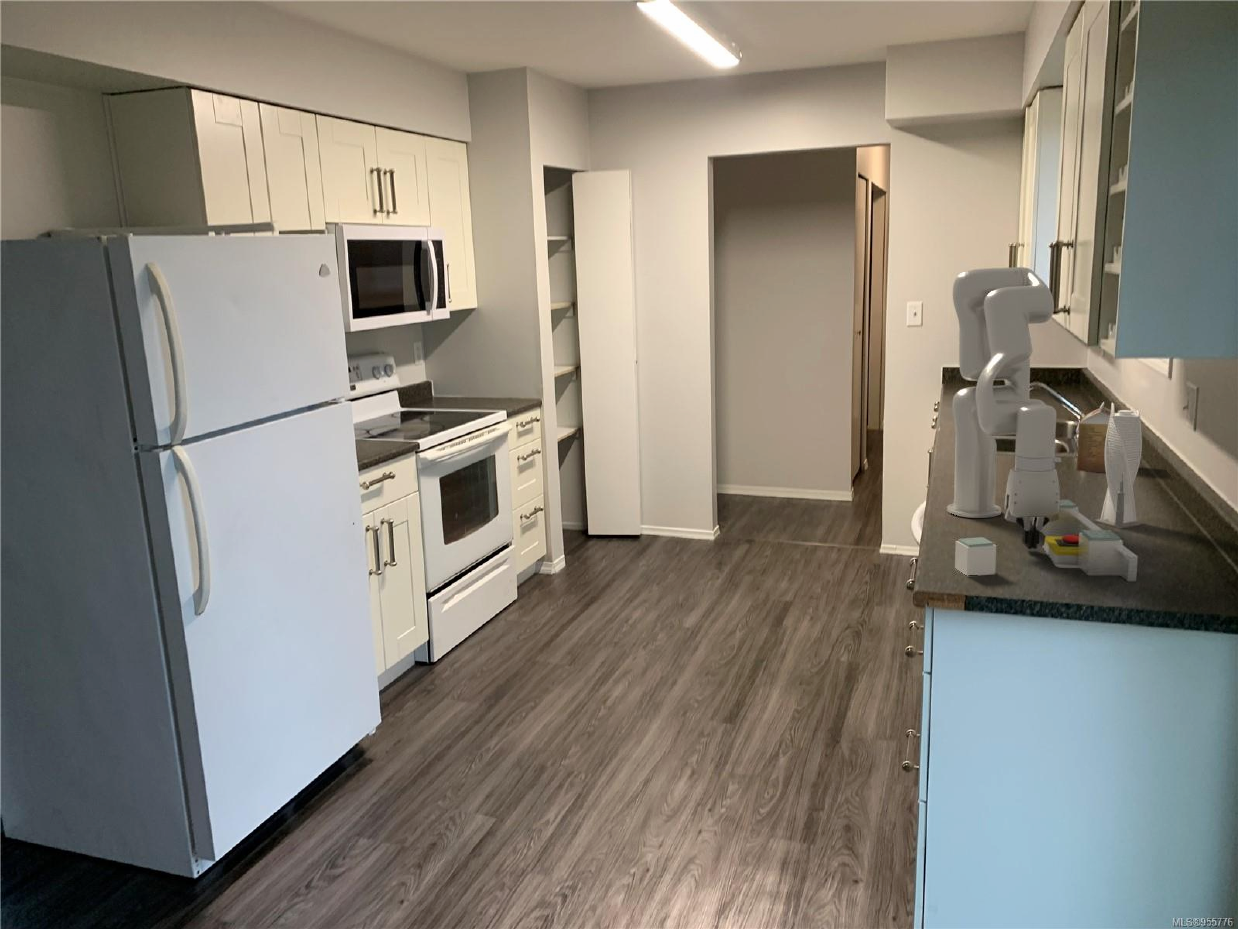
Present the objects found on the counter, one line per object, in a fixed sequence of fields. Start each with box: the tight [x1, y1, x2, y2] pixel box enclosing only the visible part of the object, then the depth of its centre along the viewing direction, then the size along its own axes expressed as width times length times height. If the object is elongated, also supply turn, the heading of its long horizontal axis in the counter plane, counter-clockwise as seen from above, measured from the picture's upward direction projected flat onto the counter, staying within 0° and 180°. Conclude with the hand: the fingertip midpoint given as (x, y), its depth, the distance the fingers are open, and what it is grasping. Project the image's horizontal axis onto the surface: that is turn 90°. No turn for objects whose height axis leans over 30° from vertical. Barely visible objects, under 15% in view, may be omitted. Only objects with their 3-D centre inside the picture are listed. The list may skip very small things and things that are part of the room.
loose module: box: [954, 536, 997, 577], centre depth 183 cm, size 5×6×6 cm
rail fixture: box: [1040, 499, 1139, 582], centre depth 192 cm, size 38×8×8 cm, turn 171°
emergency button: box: [1041, 535, 1081, 569], centre depth 189 cm, size 9×4×15 cm
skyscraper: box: [1093, 402, 1143, 530], centre depth 210 cm, size 8×8×28 cm
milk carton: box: [1076, 401, 1111, 473], centre depth 265 cm, size 11×11×19 cm
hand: (1030, 546), depth 194 cm, fingers closed
